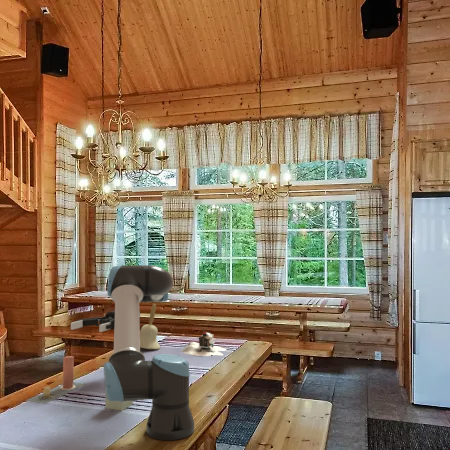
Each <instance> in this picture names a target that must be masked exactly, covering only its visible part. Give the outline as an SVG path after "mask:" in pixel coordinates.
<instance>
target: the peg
mask: <svg viewBox="0 0 450 450" xmlns="http://www.w3.org/2000/svg"><path fill="white" fill-rule="evenodd" d="M74 358H75V356H74V355H67V356H63V359H62V360H63V362H62V363H63V364H62V365H63V366H62V384H63V388H64V389H70V388H73V382H74V371H75V370H74V369H75V368H74V362H75V361H74V360H75V359H74Z"/></svg>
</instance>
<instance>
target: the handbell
mask: <svg viewBox="0 0 450 450" xmlns="http://www.w3.org/2000/svg"><path fill="white" fill-rule="evenodd" d="M156 309H157V304H156V302H154V303H153V304H152V305H151V309H150V312H149V322H148V324H144V325H143V326H142V327H140V349H147V350H159V349H160V348H161V346H160V344H159V343H158V341H157V337H158V327H156V326H155V325H153V322H154V319H155V316H156V315H155V314H156Z"/></svg>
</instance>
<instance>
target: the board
mask: <svg viewBox="0 0 450 450" xmlns="http://www.w3.org/2000/svg"><path fill="white" fill-rule="evenodd" d="M86 385H87V383H81V382H80V383H79V382H74V381H73V388H70V389H64V388H63V383H62V384H60V385H58V386H55V387H54V388H51V386H44V387H43V392H42V393H40V394H37V395H36V396H33V397H30V398H28V399H26V400H25V401H26V402H31V403H37V404H43V405H47V404H48V403H50V402H52V401H55V400H56V399H58V398H61V397H62V396H65V395H66V394H69V393H71V392H73V391H75V390H78V389H79V388H81V387H83V386H86Z"/></svg>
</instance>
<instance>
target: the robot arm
mask: <svg viewBox="0 0 450 450" xmlns="http://www.w3.org/2000/svg"><path fill="white" fill-rule="evenodd" d="M173 283H174V279H173V276H172V275H171V274H170V272H169V271H167V270H166V269H164V268H162V267H160V266H157V265H150V264H148V265H144V264H142V265H141V264H140V265H134V264H133V265H129V264H128V265H125V264H121V265H115V266H112V267H111V268H110V270H109V274H108V279H107V291H106V292H107V296H108V297H110V298H111V300H112V302H113V303H114V305H115V306H114V310H112V311H108V312H106V314H105V315H104V316H101V317H98V316H95V317H89V318H80V319H76V321H73V322H70V330H75V329H76V330H77V329H82V328H83V327H87V326H96V327H99V329H98V330H99V333H102V332H105V331H109V330H113V353H112V354H110V356H109V357H108V361H107V362H105V363H104V364H103V376H104V386H105V387H104V388H105V398H106V397H107V399H108V400H109V401H112V402H113V401H120V402H123V401H133V402H134V401H146V400H152V404H151V405H152V406H151V409H150V412H149V416H148V419H147V421H146V435H147V436H149V437H150V438H152V439H155V440H160V441H178V440H182V439H185V438H188V437H189V436H191V435H192V434H193V433H194V432H195V420H194V417H193V414H192V410H191V408H190V376H191V373H190V364H189V363H190V362H189V361H188V360H187V359H186V358H184V357H183V356H179V355H177V354H172V353H171V354H170V353H169V354H168V353H159V354H154V355H153V356H152V358H151V359H152V360H146V358H145V355H144V354H143V352H141V347H140V332H141V327H140V326H141V325H140V323H141V321H140V317H141V312H140V303H147V302H148V303H150V302H151V303H152V302H154V303H157V302H159V303H161V302H167V301H168V299H169V292H171V289H172V288H173V285H174V284H173Z"/></svg>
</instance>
